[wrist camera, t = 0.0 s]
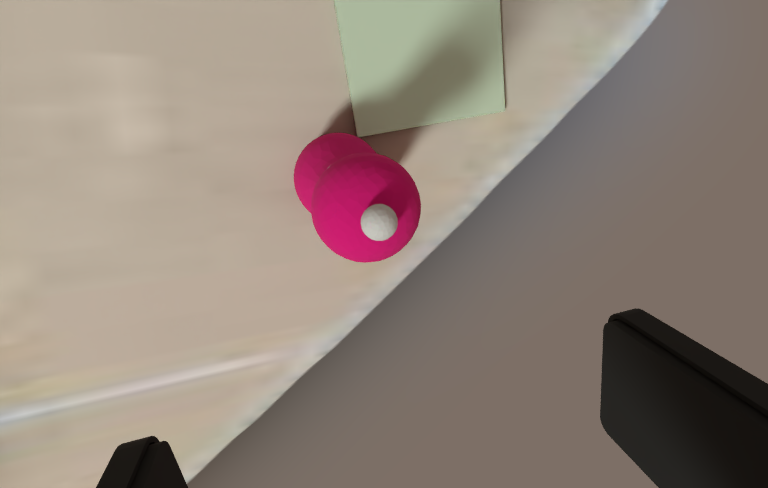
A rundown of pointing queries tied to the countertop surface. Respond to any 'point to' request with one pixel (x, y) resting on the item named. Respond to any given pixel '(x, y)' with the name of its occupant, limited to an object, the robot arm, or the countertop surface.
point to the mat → (420, 61)
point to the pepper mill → (357, 197)
